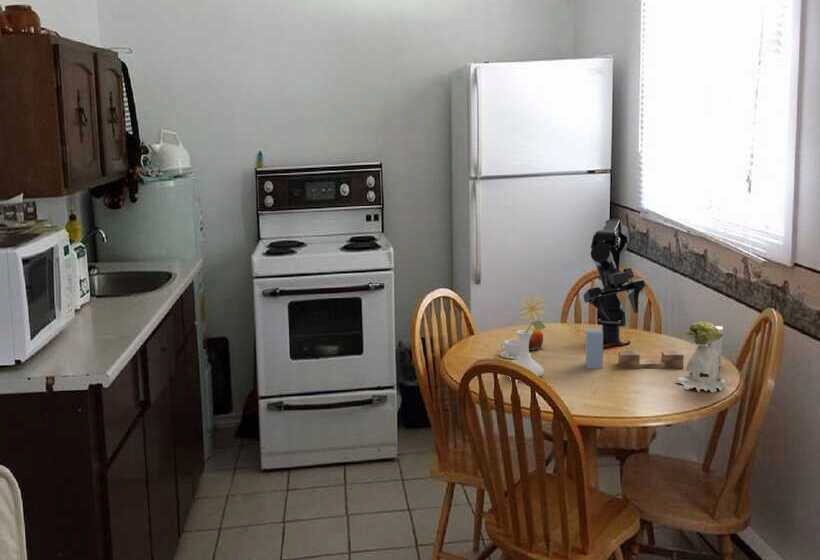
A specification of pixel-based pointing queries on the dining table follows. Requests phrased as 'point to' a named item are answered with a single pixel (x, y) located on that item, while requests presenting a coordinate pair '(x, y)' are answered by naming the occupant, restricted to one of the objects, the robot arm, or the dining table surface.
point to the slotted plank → (651, 360)
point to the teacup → (511, 348)
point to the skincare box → (718, 344)
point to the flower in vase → (530, 311)
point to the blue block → (594, 348)
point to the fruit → (535, 339)
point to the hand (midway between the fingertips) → (622, 316)
